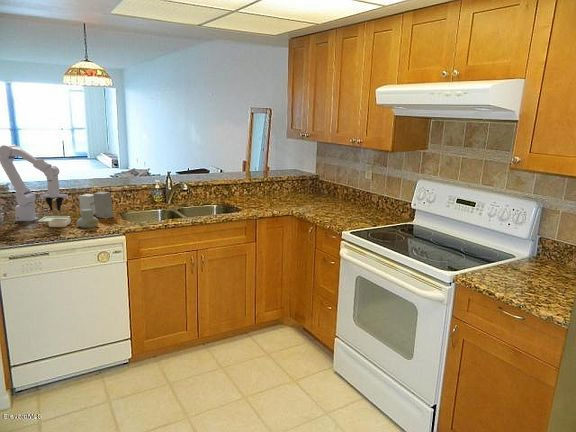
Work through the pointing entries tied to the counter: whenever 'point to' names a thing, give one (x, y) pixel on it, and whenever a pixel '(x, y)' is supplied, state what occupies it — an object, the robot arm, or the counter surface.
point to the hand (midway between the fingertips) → (55, 210)
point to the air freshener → (87, 219)
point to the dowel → (55, 208)
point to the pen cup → (59, 222)
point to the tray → (49, 218)
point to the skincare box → (103, 204)
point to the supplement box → (87, 202)
